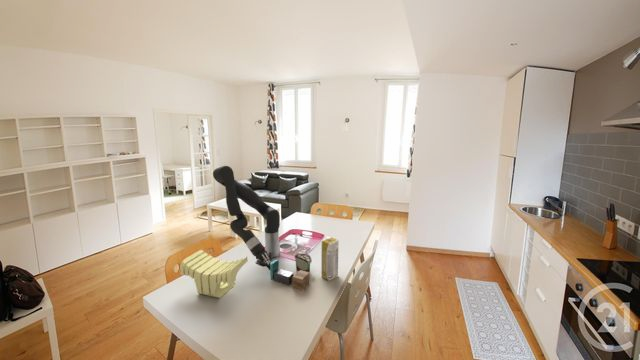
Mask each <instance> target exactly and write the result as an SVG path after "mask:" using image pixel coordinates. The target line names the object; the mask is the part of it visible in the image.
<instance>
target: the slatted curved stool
mask: <svg viewBox="0 0 640 360" xmlns="http://www.w3.org/2000/svg"><path fill="white" fill-rule="evenodd" d="M247 262H248V256H246V257H243V258H240V259H236V260H223V259H219V258H217V257H213V256H212V255H210V254H209V253H208V252H206V251H204V250H203V249H199V250H198V251H196V252H193V253H192V254H191V255H189V256H187V257H185V258H184V259H183V260H182V261H181V262H180V266H179V271H180V276H187V277H190V278H191V279H194V283H195V287H196V290H197V294H200V295H206V296H209V297H213V298H222V297H223V296H224V295H225V294H226V293H228V291H230V290H231V289H232V288H233V287H234V286H235V285H236V282H235V281H236V280H237V278H236V277H237V275H238V272H240V270H241V268H243V266H245V264H246V263H247Z"/></svg>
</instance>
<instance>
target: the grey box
mask: <svg viewBox="0 0 640 360" xmlns="http://www.w3.org/2000/svg"><path fill="white" fill-rule="evenodd" d="M279 267H280V265H279V259H277V258H276V259H274V260H272V261H271V263H270V270H269V272H270V274H269V275H270V281H274V272H275V271H277V270H278V269H280V268H279ZM289 279H290V282H292V283H293V276H291V277H290V278H289Z"/></svg>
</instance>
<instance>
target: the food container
mask: <svg viewBox="0 0 640 360" xmlns="http://www.w3.org/2000/svg"><path fill="white" fill-rule="evenodd" d="M294 258H295V267H296V268H295V270H296V271H297V272H298V271H300V270H302V271H306V272H309V273H310V272H311V263H312V262H313V261H312V257H311V255H309V254H307V253H297V254H294Z"/></svg>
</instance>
